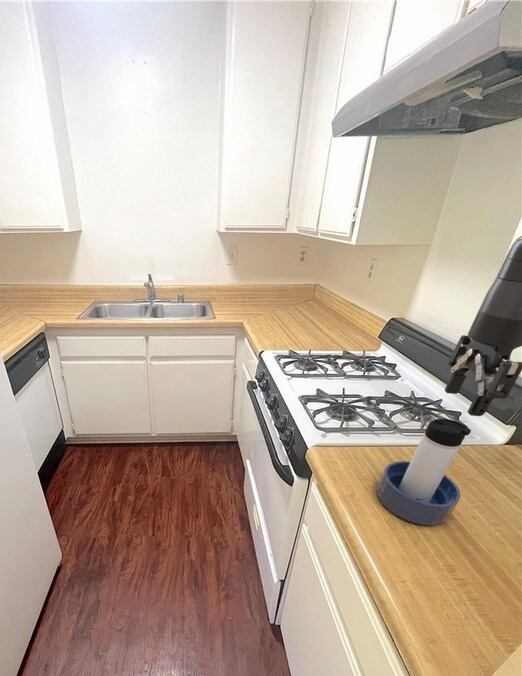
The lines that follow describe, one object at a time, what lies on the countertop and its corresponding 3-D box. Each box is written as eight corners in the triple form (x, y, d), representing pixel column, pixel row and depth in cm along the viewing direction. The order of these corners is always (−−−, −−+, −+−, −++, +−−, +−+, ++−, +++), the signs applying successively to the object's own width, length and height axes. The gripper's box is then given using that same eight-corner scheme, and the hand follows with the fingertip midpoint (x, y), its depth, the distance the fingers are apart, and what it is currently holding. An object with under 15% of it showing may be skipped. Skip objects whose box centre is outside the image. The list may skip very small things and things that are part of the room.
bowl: (430, 484, 82) (441, 464, 78) (460, 531, 70) (474, 510, 67) (368, 478, 83) (376, 458, 80) (387, 522, 71) (397, 501, 68)
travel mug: (420, 515, 72) (463, 436, 61) (389, 497, 77) (425, 420, 66) (433, 503, 75) (477, 426, 64) (404, 486, 80) (440, 411, 69)
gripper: (570, 326, 47) (507, 425, 56) (507, 302, 59) (463, 387, 68) (511, 322, 48) (459, 421, 57) (460, 299, 60) (423, 384, 69)
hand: (461, 403), depth 63 cm, fingers open, 8 cm apart
